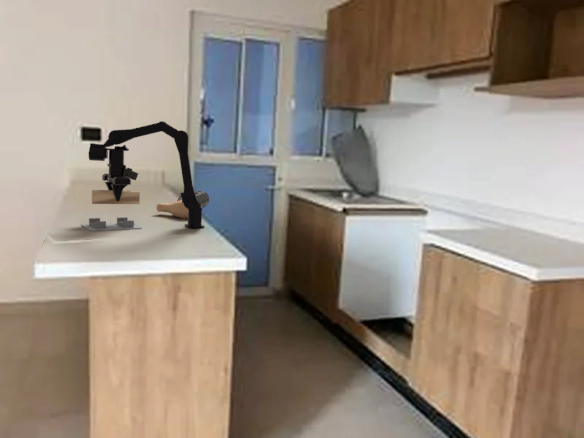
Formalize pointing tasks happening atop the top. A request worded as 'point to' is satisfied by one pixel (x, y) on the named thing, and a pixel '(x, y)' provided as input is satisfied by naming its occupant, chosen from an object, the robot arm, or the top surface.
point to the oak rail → (109, 197)
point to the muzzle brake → (200, 198)
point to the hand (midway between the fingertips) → (115, 200)
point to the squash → (174, 209)
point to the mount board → (110, 224)
